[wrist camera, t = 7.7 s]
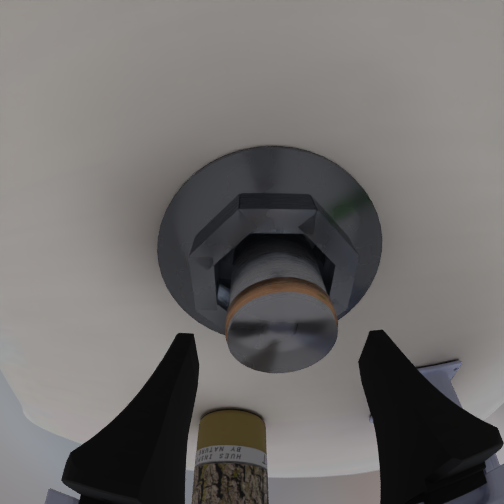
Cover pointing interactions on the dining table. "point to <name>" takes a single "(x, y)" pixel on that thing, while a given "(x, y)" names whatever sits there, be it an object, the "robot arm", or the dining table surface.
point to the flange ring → (267, 226)
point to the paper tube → (231, 459)
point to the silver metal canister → (278, 305)
